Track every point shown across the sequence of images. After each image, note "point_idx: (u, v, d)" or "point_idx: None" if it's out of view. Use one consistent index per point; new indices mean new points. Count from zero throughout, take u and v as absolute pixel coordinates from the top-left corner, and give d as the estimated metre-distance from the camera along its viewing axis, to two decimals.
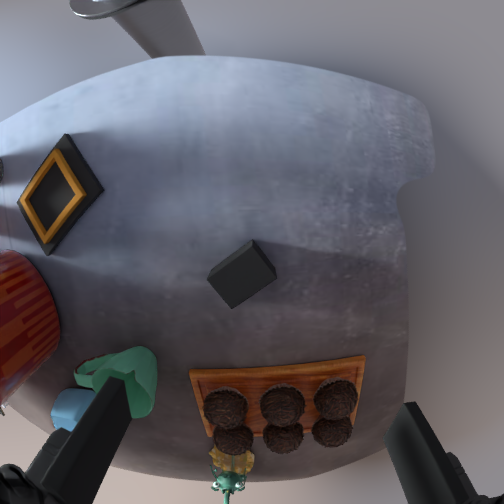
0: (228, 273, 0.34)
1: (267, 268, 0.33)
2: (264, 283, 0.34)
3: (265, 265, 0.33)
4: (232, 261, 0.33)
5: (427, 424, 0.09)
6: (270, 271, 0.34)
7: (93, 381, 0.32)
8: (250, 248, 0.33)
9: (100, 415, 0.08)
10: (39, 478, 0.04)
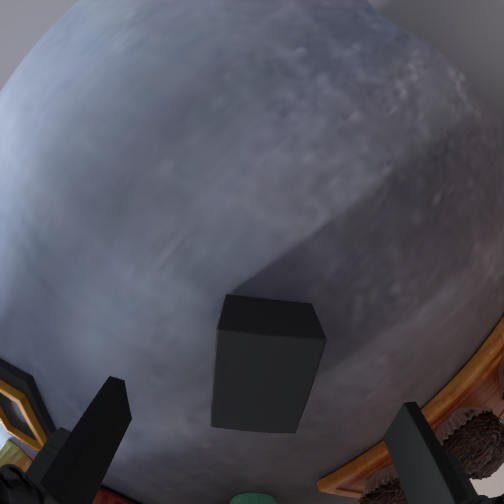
0: (232, 399, 0.13)
1: (290, 340, 0.12)
2: (311, 366, 0.12)
3: (280, 338, 0.12)
4: (215, 379, 0.13)
5: (427, 424, 0.09)
6: (301, 339, 0.12)
7: None
8: (219, 335, 0.12)
9: (100, 415, 0.08)
10: (39, 478, 0.04)
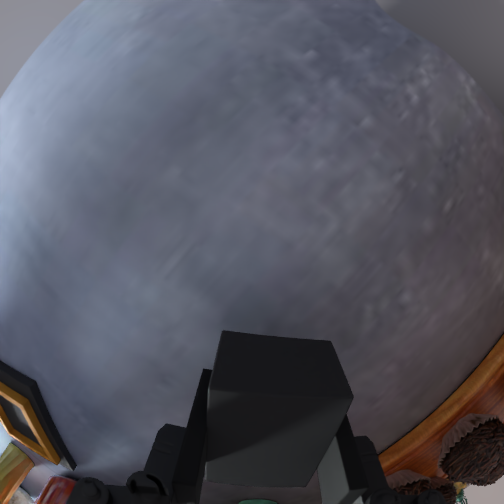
0: (230, 459, 0.09)
1: (306, 401, 0.08)
2: (331, 426, 0.09)
3: (294, 400, 0.08)
4: (209, 440, 0.09)
5: None
6: (321, 399, 0.08)
7: None
8: (212, 395, 0.08)
9: None
10: None
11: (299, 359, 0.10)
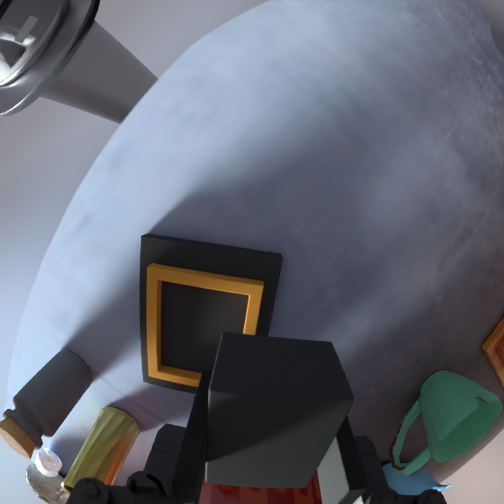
0: (231, 460, 0.09)
1: (307, 402, 0.08)
2: (332, 427, 0.09)
3: (295, 401, 0.08)
4: (209, 441, 0.09)
5: None
6: (322, 401, 0.08)
7: None
8: (213, 396, 0.08)
9: None
10: None
11: (300, 360, 0.10)
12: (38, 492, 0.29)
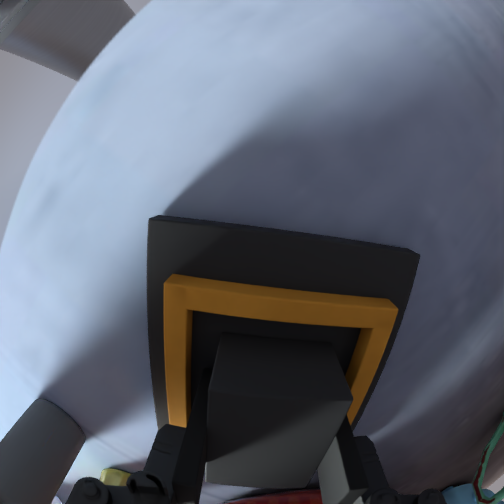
0: (230, 460, 0.09)
1: (306, 403, 0.08)
2: (331, 428, 0.09)
3: (294, 402, 0.08)
4: (209, 441, 0.09)
5: None
6: (321, 401, 0.08)
7: None
8: (212, 397, 0.08)
9: None
10: None
11: (299, 361, 0.10)
12: None
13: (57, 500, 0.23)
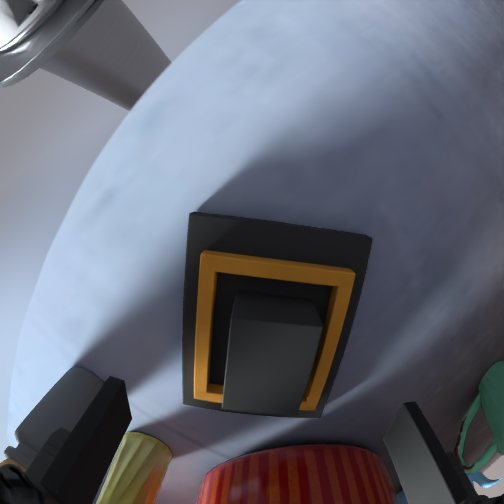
0: (242, 381, 0.15)
1: (292, 327, 0.14)
2: (310, 350, 0.15)
3: (284, 325, 0.14)
4: (228, 362, 0.15)
5: (427, 424, 0.09)
6: (302, 326, 0.14)
7: (500, 448, 0.13)
8: (233, 322, 0.14)
9: (100, 415, 0.08)
10: (39, 478, 0.04)
11: (288, 306, 0.17)
12: None
13: None
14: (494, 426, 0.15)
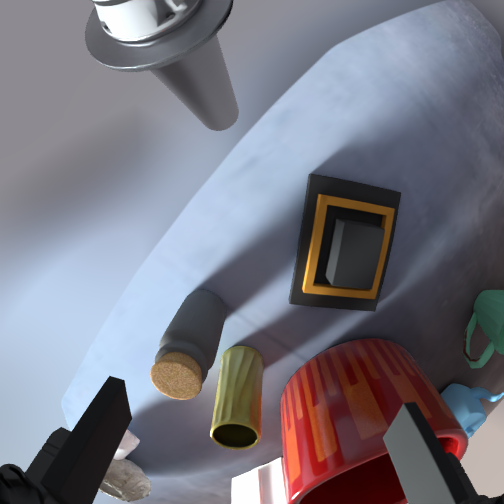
0: (345, 263, 0.29)
1: (371, 228, 0.28)
2: (379, 243, 0.28)
3: (368, 227, 0.28)
4: (340, 250, 0.29)
5: (427, 424, 0.09)
6: (376, 228, 0.28)
7: (496, 344, 0.27)
8: (344, 225, 0.28)
9: (100, 415, 0.08)
10: (39, 478, 0.04)
11: (364, 223, 0.30)
12: None
13: (133, 435, 0.42)
14: (488, 329, 0.29)
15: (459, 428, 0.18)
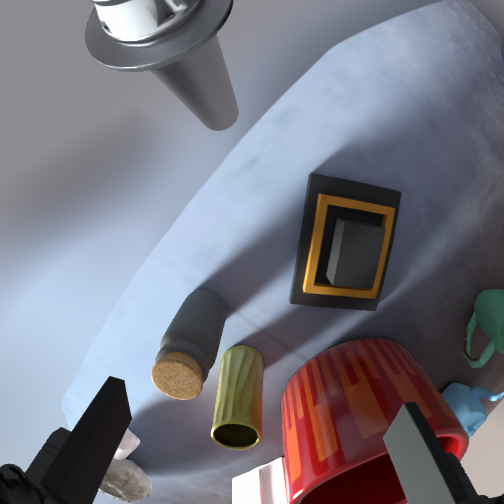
0: (346, 262, 0.29)
1: (372, 228, 0.28)
2: (380, 242, 0.28)
3: (368, 227, 0.28)
4: (340, 249, 0.29)
5: (427, 424, 0.09)
6: (376, 228, 0.28)
7: (497, 343, 0.27)
8: (345, 225, 0.28)
9: (100, 415, 0.08)
10: (39, 478, 0.04)
11: (364, 223, 0.30)
12: None
13: (134, 435, 0.42)
14: (489, 328, 0.29)
15: (460, 427, 0.18)
